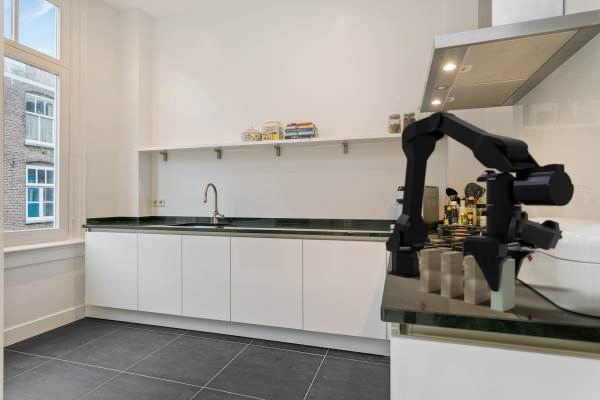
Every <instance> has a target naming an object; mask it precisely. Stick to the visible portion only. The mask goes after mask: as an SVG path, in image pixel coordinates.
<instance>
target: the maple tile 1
mask: <svg viewBox="0 0 600 400" xmlns="http://www.w3.org/2000/svg"><path fill="white" fill-rule="evenodd" d="M441 253H442V249H441V248H433V247H432V248H425V249H423V250H420V252H419V254H420V255H419V257H420V258H419V272H420V277H419V280H420V281H419V291H421V292H424V293H431V292H436V291H439V290H440V291H441Z"/></svg>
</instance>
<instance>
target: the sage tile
mask: <svg viewBox="0 0 600 400" xmlns="http://www.w3.org/2000/svg"><path fill="white" fill-rule="evenodd" d="M515 285H516V283H515V259H508V260H507V261H506V262H505V263H504V264H503V268H502V274H501V281H500V287H499V291H498V292H494V291H492V290H491V289H490V310H494V311H497V312H502V313H503V312H506V311H509V310H510V309H513V308H515V307H516V305H515V304H516V302H515V301H516V300H515V299H516V291H515V290H516V289H515V287H516V286H515Z"/></svg>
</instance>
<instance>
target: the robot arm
mask: <svg viewBox="0 0 600 400" xmlns="http://www.w3.org/2000/svg"><path fill="white" fill-rule="evenodd" d="M446 136H447V137H449V138H451V139H452V140H455V141H456V142H457V143H459V144H461V145H463V146H464V147H466V148H468V149H469V150H470V151H471V152H472V155H473V157H474V158H475V159H476V160H477V161H478V163H480V164H481V165H482V166H483V167H484V168H486V169H485V170H484V172H483V173H482V174H481V175H479V176H478V177H477V178H476V182H477V183H485V188H486V189H485V191H486V192H485V193H486V194H485V201H486V202H485V205H486V206H485V210H481V214H480V215H481V217H485V231H481V232H480V233H481V236H480V235H469V236H466V237H465V238H464V239H463V240H461V243H462V245H461V246H462V247H461V252H463V253H469V254H470V255H472V256H473V257H474V259H475V260H476V262H477V264H478V265H479V267H480V269H481V271H482V273H483V275H484V277H485V279H486V281H487V286H489V289H490V291H491V290H492V291H494V292H498V291H499V287H500V281H501V274H502V268H503V264H504V263H505V262H506V261H507V260H508V259H515V284H516V282H517V280H518V277H519V274H520V271H521V268H522V265H523V263H524V260H525V259H526V258H528V257H529V256H531V255H532V254H534V253H535V252H536V251H535V250H538V249H541V250H544V251H549V250H550V249H553V250H554V249H556V247H557V245H558V243H559V240H562V239H563V235H562V234H563V230H560V229H561V228H560V223H559V222H558V221H554V220H552V219H546V220H545V221H542V222H541V223H540V222H539V221H532V220H530V219H529V213H528V212H527V211H525V210H523V206H530V207H532V206H534V207H564V206H566V205H568V204H569V203H570V202H571V201H572V199H573V198H574V197H573V196H574V192H575V185H574V184H573V183H572V179H571V177H570V175H569V174H568V172H566V170H565V164H564V163H548V164H545V165H542V166H541V165H540V164H539V163H538V162H537V160H536V159H535V158H534V157H533V155H531V153H530V152H529V145H528V144H527V142H525V141H524V140H521V139H518V138H513V137H509V136H505V135H499V134H494V133H490V132H488V131H486V130H484V129H482V128H480V127H478V126H477V125H474V124H472V123H469V122H468V121H466V120H464V119H462V118H460V117H458V116H457V115H455V114H454V113H452V112H446V111H445V112H443V111H436V112H433V113H432V114H430V115H429V116H426V117H423V118H422V119H419V120H416V121H415V120H414V121H413V122H412V123H410V124H407V126H405V128H404V129H403V130H402V132H401V149H402V152H403V154H404V156H405V158H406V167H405V177H404V185H403V186H404V187H403V196H402V197H403V199H402V209H401V214H400V215H399V216H398V218H397V219H396V220H395V222H394V224H393V230H392V233H391V234H390V236H389V238H388V239H387V240H386V242H385V249H386V251H387V252H391V270H388V271H387V273H388V274H392V275H396V276H399V277H403V278H404V277H405V278H410V277H414V276H419V275H420V258H419V253H420V250H425V249H424V248H425V244H426V242H427V239H429V229H430V223H429V222H425V219H424V217H423V215H422V214H423V204H424V195H425V185H426V175H427V167H428V160H429V158H430V157H431V155H433V153H434V152H435V149H436V145H437V142H439V141H441V140H442V139H444V138H445V137H446ZM491 169H492V170H491ZM493 169H494V170H493ZM495 170H496V171H497V172H496V171H495ZM514 174H515V175H514ZM527 248H531V250H530V249H527Z"/></svg>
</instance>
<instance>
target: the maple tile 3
mask: <svg viewBox="0 0 600 400" xmlns="http://www.w3.org/2000/svg"><path fill="white" fill-rule="evenodd" d="M463 295H464V302H465V303H467V304H471V305H478V304H481V303H484V302H486V301H488V283H487V281H486V279H485V277H484V275H483V273H482V271H481V269H480V267H479V265H478V264H477V262H476V260H475V259H474V257H473V256H472V255H471V254H470V255H465V256H464V291H463Z"/></svg>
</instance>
